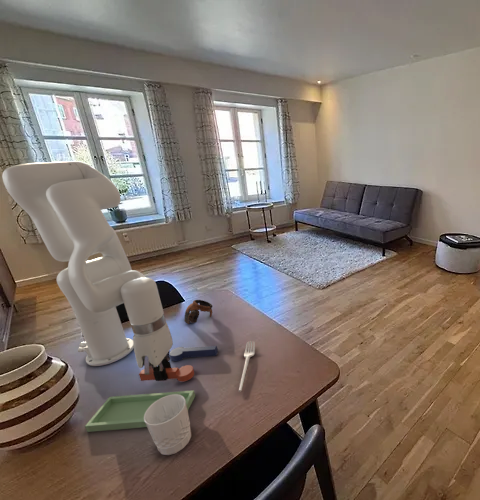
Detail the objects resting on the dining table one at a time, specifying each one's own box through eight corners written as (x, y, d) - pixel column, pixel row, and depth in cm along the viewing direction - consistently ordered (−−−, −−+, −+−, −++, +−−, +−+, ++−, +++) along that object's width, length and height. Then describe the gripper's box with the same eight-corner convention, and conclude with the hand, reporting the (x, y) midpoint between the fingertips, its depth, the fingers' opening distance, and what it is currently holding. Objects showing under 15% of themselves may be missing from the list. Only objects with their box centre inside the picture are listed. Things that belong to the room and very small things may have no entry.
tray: (87, 432, 70) (84, 426, 69) (111, 402, 78) (109, 396, 77) (181, 424, 72) (179, 418, 71) (195, 395, 80) (194, 390, 79)
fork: (234, 393, 80) (232, 388, 79) (246, 346, 99) (245, 341, 98) (246, 392, 80) (245, 386, 80) (256, 345, 99) (255, 340, 98)
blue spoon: (219, 349, 97) (218, 343, 96) (214, 358, 93) (213, 352, 92) (174, 352, 96) (173, 346, 95) (168, 361, 92) (166, 355, 91)
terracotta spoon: (138, 384, 83) (135, 377, 82) (146, 372, 87) (144, 366, 86) (190, 381, 84) (188, 374, 83) (196, 369, 88) (195, 363, 87)
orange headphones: (186, 315, 117) (193, 296, 117) (210, 322, 120) (217, 304, 120) (175, 325, 106) (184, 304, 106) (202, 333, 108) (210, 312, 108)
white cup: (166, 426, 71) (155, 395, 67) (199, 424, 72) (191, 392, 68) (147, 460, 64) (135, 426, 60) (185, 456, 64) (175, 423, 61)
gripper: (150, 307, 85) (164, 358, 92) (114, 343, 71) (134, 400, 77) (177, 306, 86) (189, 356, 93) (147, 341, 71) (164, 398, 78)
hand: (164, 376), depth 85 cm, fingers closed on terracotta spoon, 1 cm apart
